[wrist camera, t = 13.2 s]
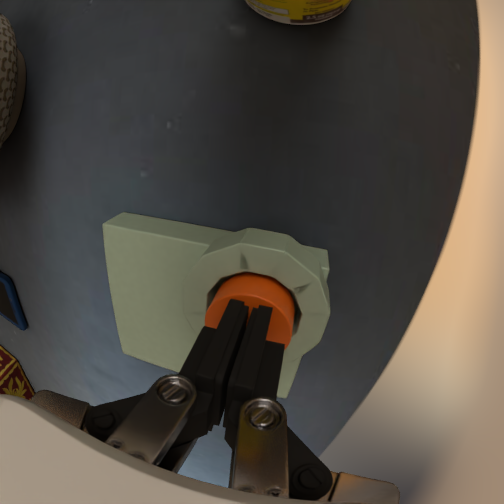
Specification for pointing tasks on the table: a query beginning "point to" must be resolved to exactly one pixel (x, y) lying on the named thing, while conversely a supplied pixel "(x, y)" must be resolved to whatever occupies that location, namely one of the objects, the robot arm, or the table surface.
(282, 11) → the supplement bottle
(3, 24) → the planter
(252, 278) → the button
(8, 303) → the cell phone
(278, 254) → the block
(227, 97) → the table surface
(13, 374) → the decorative box
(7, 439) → the robot arm
